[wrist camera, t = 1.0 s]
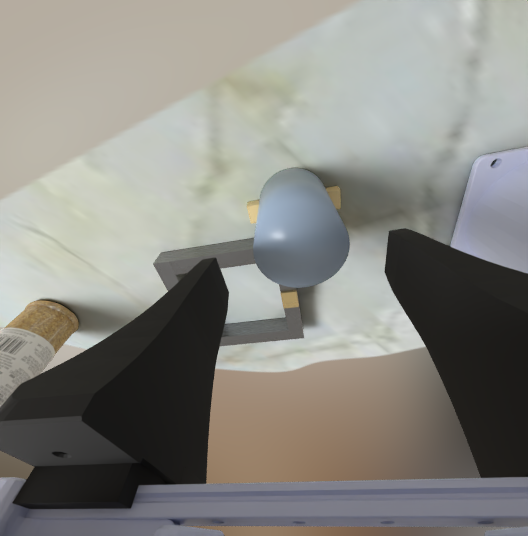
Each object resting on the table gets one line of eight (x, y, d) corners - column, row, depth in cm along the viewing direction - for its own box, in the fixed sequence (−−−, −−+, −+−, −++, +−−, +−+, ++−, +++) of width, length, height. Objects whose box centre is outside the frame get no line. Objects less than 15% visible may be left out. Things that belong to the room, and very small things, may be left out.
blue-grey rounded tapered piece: (337, 159, 15) (368, 193, 10) (338, 225, 17) (363, 279, 12) (242, 177, 15) (227, 217, 11) (256, 238, 18) (250, 294, 13)
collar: (288, 232, 18) (289, 244, 16) (302, 324, 23) (304, 339, 22) (160, 252, 19) (151, 265, 18) (203, 335, 25) (199, 349, 23)
